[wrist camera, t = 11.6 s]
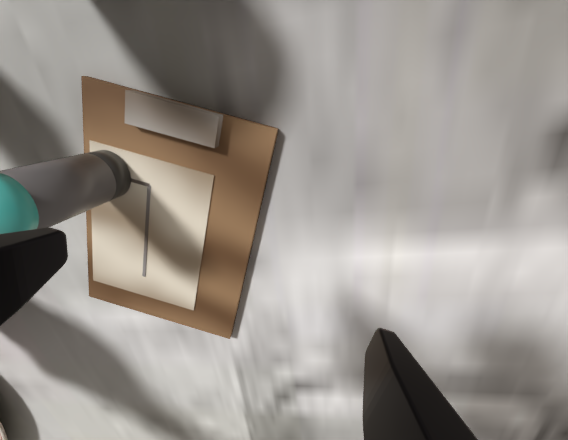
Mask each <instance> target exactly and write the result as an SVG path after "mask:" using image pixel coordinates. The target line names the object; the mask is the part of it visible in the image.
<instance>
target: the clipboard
mask: <svg viewBox="0 0 568 440" xmlns="http://www.w3.org/2000/svg"><path fill="white" fill-rule="evenodd" d="M82 104H83V133H84V153H89V152H93V151H98V150H108V151H111V152H113V153H115V154H117V155H118V156H119V157H120V158H121V159H122V160H123V161H124V162H125V164H126V165H127V167H128V169H129V172H130V176H131V184H130V188H129V190H128V191H127V192H126V193H125V194H124V195H122V196H120V197H118V198H115V199H113V200H111V201H108V202H106V203H104V204H101V205H99V206H97V207H95V208H92V209H90V210H88V211H86V219H87V248H88V277H89V296H90V297H94V298H97V299H100V300H103V301H107V302H110V303H113V304H117V305H120V306H123V307H126V308H130V309H133V310H136V311H140V312H143V313H146V314H149V315H153V316H156V317H159V318H163V319H166V320H169V321H173V322H176V323H179V324H182V325H186V326H189V327H192V328H196V329H199V330H202V331H205V332H209V333H212V334H215V335H219V336H222V337H225V338H228V339H230V337H231V335H232V331H233V327H234V323H235V318H236V314H237V309H238V305H239V301H240V296H241V292H242V287H243V283H244V279H245V274H246V270H247V266H248V261H249V257H250V252H251V248H252V244H253V239H254V235H255V231H256V226H257V222H258V217H259V213H260V209H261V204H262V200H263V195H264V191H265V187H266V182H267V178H268V174H269V169H270V165H271V160H272V156H273V152H274V147H275V143H276V138H277V134H278V130H279V129H278V128H274V127H271V126H267V125H263V124H260V123H256V122H252V121H249V120H245V119H241V118H238V117H234V116H231V115H227V114H223V113H220V112H216V111H212V110H209V109H205V108H201V107H198V106H194V105H190V104H187V103H183V102H179V101H176V100H172V99H169V98H165V97H161V96H158V95H154V94H150V93H147V92H143V91H139V90H136V89H132V88H128V87H125V86H121V85H117V84H114V83H110V82H107V81H103V80H99V79H96V78H92V77H88V76H82Z"/></svg>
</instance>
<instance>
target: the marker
mask: <svg viewBox="0 0 568 440" xmlns="http://www.w3.org/2000/svg"><path fill="white" fill-rule="evenodd" d="M130 184H131V176H130V172H129V169H128V167H127V165H126V164H125V162H124V161H123V160H122V159H121V158H120V157H119V156H118V155H117V154H115V153H113V152H111V151H108V150H98V151H93V152H89V153H84V154H79V155H74V156H69V157H65V158H60V159H55V160H50V161H45V162H40V163H36V164H31V165H26V166H21V167H16V168H12V169H7V170H2V171H0V234H4V233H12V232H19V231H26V230H33V229H40V228H48V227H51V226H53V225H55V224H58V223H60V222H62V221H65V220H67V219H69V218H71V217H74V216H76V215H78V214H81V213H83V212H85V211H88V210H90V209H92V208H95V207H97V206H99V205H101V204H104V203H106V202H108V201H111V200H113V199H115V198H118V197H120V196H122V195H124V194H125V193H126V192H127V191H128V190H129V188H130Z"/></svg>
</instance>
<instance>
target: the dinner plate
mask: <svg viewBox="0 0 568 440" xmlns="http://www.w3.org/2000/svg"><path fill="white" fill-rule="evenodd" d="M0 440H7V435H6V433H5V430H4V428H3V425H2V424H1V422H0Z"/></svg>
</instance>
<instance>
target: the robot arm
mask: <svg viewBox="0 0 568 440" xmlns="http://www.w3.org/2000/svg"><path fill="white" fill-rule="evenodd" d="M67 257H68V253H67V241H66V235H65V233H64V232H62V231H60V230H57V229H53V228H40V229H33V230H26V231H19V232H12V233H4V234H0V326H1V325H2V324H3V323H4V322H5V321H6V320H8V319H9V318H10V317H11V316H12V315H13V314H15V313H16V312H17V311H18V310H19V309H20V308H21V307H22V306H23V305H24V304H25V303H27V302H28V301H29V300H30V299H31V298H32V297H33V296H34V295H35V294H36V293H37V292H38V290H39V289H40V288H41V287H42V286H43V285H44V284H45V283H46V282H47V281H48V280H49V279H50V278H51V277H52V276H53V275H54V274H55V273H56V272H57V271H58V270H59V269H60V268H61V267H62V266H63V265H64V264H65V262H66V260H67ZM363 432H364V440H478V439H477V438H476V437H475V436H474V434H473V433H472V432H471V430H470V429H469V428H468V427H467V425H466V424H465V423H464V421H463V420H462V419H461V418H460V416H459V415H458V414H457V412H456V411H455V410H454V409H453V407H452V406H451V405H450V403H449V402H448V401H447V400H446V398H445V397H444V396H443V394H442V393H441V392H440V391H439V389H438V388H437V387H436V385H435V384H434V383H433V382H432V380H431V379H430V378H429V376H428V375H427V374H426V373H425V371H424V370H423V369H422V367H421V366H420V365H419V364H418V362H417V361H416V360H415V358H414V357H413V356H412V355H411V353H410V352H409V351H408V349H407V348H406V347H405V346H404V344H403V343H402V342H401V340H400V339H399V338H398V337H397V335H396V334H395V333H394V332H392V331H389V330H386V329H382V328H378V329H377V330H376V331H375V333H374V335H373V337H372V339H371V341H370V344H369V346H368V348H367V350H366V354H365V367H364V392H363Z"/></svg>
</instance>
